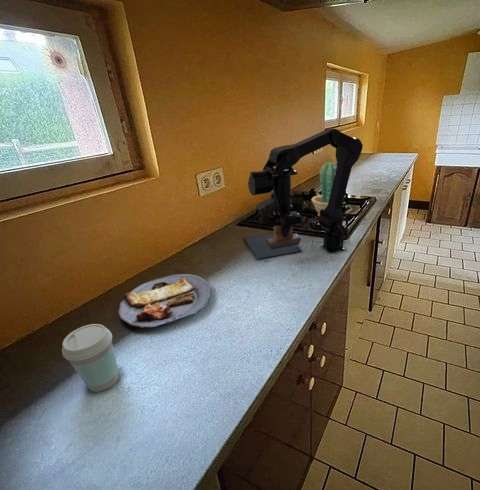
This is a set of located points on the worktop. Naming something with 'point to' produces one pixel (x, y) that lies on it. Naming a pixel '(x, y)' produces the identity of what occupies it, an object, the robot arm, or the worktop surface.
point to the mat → (263, 250)
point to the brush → (283, 239)
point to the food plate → (164, 300)
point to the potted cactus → (325, 186)
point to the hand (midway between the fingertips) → (283, 235)
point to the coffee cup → (92, 356)
